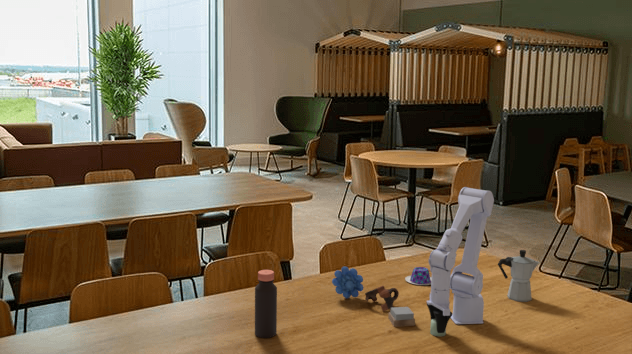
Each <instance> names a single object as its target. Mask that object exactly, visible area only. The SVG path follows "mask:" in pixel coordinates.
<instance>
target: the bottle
mask: <svg viewBox="0 0 632 354" xmlns="http://www.w3.org/2000/svg"><path fill="white" fill-rule="evenodd" d="M257 281H258V282H259V283H257V285H255V287H254V335H255V336H256V337H258V338H261V339H262V338H263V339H267V338H268V339H270V338H273V337H274V336H276V335H277V334H278V333H277V325H278V324H277V323H278V322H277V321H278V319H277V318H278V317H277V316H278V315H277V314H278V313H277V312H278V310H277V309H278V302H277V301H278V286H277V285H276V284H274V281H275V271H274V270H271V269H262V270H259V271H258V272H257Z"/></svg>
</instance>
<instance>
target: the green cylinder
mask: <svg viewBox="0 0 632 354" xmlns="http://www.w3.org/2000/svg"><path fill="white" fill-rule="evenodd" d="M446 331H447V328H446V329H445V332H444V333H438V332H437V326H436V318H435V319H432V320H431V319H430V331H429V333H430V335H432V336H435V337H439V338H440V337H445V336H446V333H447V332H446Z"/></svg>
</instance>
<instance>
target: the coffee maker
mask: <svg viewBox="0 0 632 354" xmlns="http://www.w3.org/2000/svg"><path fill="white" fill-rule="evenodd" d="M526 254H527V250H525V249H520V250H519V256H507V257H505V258H500V259H499V261H498V263H497V266H498V267H499V269H500V271H501V273H502V275H503V277H504V279H505V280H506V279H508V277H509V276H508V275H507V273H506V271H505V270H504V268H503V266H502V265H505V266H507V267H509V268H510V277H511V279H510V283H509V288H508V291H507V295H506V297H507V298H508V300H512V301H515V302H517V303H518V302H519V303H520V302H521V303H527V302H530V301H532V300H533V299H532V298H533V297H532V288H531V287H532V286H531V281H530V279H531V278H532V276H533V272H534V270H535V269H536V268H537V266H538V265H539V264H540V263H541V262H540V261H537V260H534V259H532V258H531V257H529V256H528V257H527V256H526Z"/></svg>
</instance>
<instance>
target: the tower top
mask: <svg viewBox="0 0 632 354" xmlns="http://www.w3.org/2000/svg"><path fill="white" fill-rule="evenodd" d="M389 312H390V314H391V315H392V316H393V317H394V319H395V320H411V319H415V318H414V317H415V316H414V315H415V313H414V312H413V311H412V310H411V308H410V307H409V306H398V307H397V306H396V307H395V306H393V308H391V309H389Z"/></svg>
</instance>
